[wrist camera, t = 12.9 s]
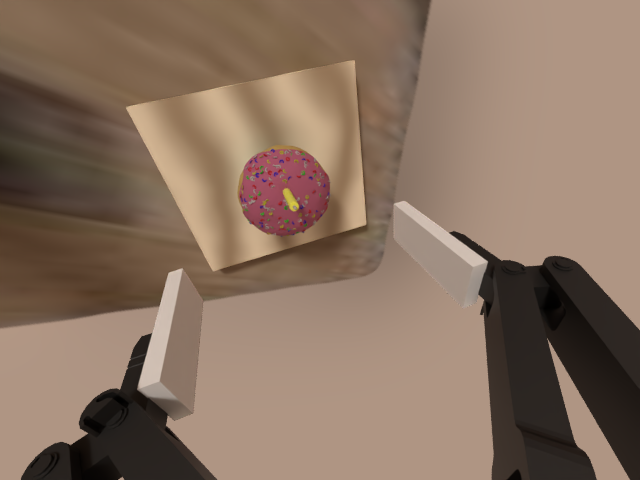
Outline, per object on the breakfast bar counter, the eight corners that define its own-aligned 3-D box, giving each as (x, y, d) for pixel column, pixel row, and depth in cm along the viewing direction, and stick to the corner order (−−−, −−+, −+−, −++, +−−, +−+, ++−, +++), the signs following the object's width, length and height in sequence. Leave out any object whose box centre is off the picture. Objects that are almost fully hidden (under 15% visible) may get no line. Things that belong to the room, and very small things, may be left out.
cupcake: (221, 152, 25) (215, 202, 15) (304, 123, 26) (349, 153, 16) (256, 225, 30) (269, 298, 20) (325, 199, 31) (369, 257, 21)
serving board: (213, 264, 33) (212, 271, 32) (131, 105, 23) (125, 107, 21) (361, 219, 36) (366, 224, 34) (348, 60, 25) (354, 60, 24)
